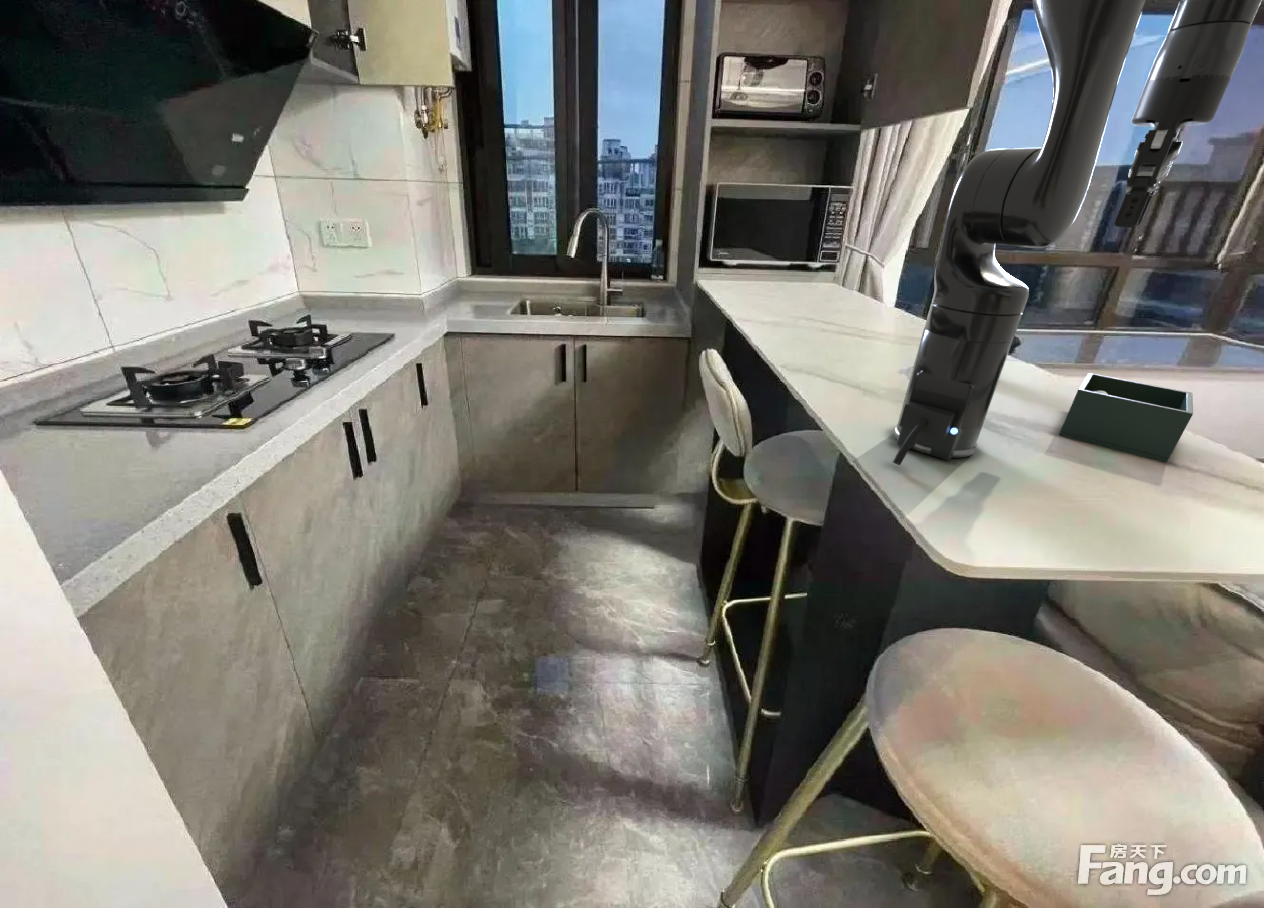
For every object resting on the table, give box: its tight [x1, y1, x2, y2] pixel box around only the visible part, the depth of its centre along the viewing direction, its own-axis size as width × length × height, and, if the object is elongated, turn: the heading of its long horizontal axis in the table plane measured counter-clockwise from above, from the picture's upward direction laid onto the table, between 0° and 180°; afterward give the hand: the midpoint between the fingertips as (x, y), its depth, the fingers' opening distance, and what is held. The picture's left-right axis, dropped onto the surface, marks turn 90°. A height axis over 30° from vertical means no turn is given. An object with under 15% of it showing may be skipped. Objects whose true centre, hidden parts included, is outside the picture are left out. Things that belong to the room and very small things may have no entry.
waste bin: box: [1058, 372, 1194, 463], centre depth 73 cm, size 11×11×7 cm
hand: (1126, 226), depth 71 cm, fingers open, 8 cm apart
